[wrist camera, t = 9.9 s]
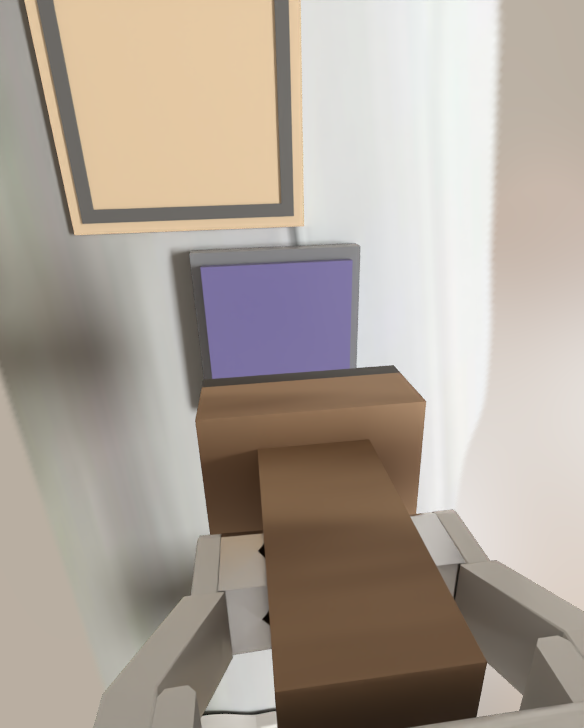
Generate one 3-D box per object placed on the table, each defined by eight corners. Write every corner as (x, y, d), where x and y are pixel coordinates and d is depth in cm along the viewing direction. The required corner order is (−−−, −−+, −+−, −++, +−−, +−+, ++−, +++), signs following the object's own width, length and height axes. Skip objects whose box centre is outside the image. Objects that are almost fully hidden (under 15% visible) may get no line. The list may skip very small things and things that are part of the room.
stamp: (386, 493, 16) (537, 802, 8) (218, 510, 15) (195, 862, 7) (393, 365, 14) (602, 597, 6) (203, 379, 13) (148, 656, 5)
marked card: (303, 225, 22) (304, 226, 22) (76, 234, 21) (73, 235, 21) (298, -58, 18) (300, -63, 17) (13, -64, 17) (8, -70, 16)
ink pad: (350, 397, 26) (357, 409, 25) (209, 408, 25) (207, 421, 24) (355, 243, 23) (362, 247, 21) (191, 250, 22) (188, 255, 20)
